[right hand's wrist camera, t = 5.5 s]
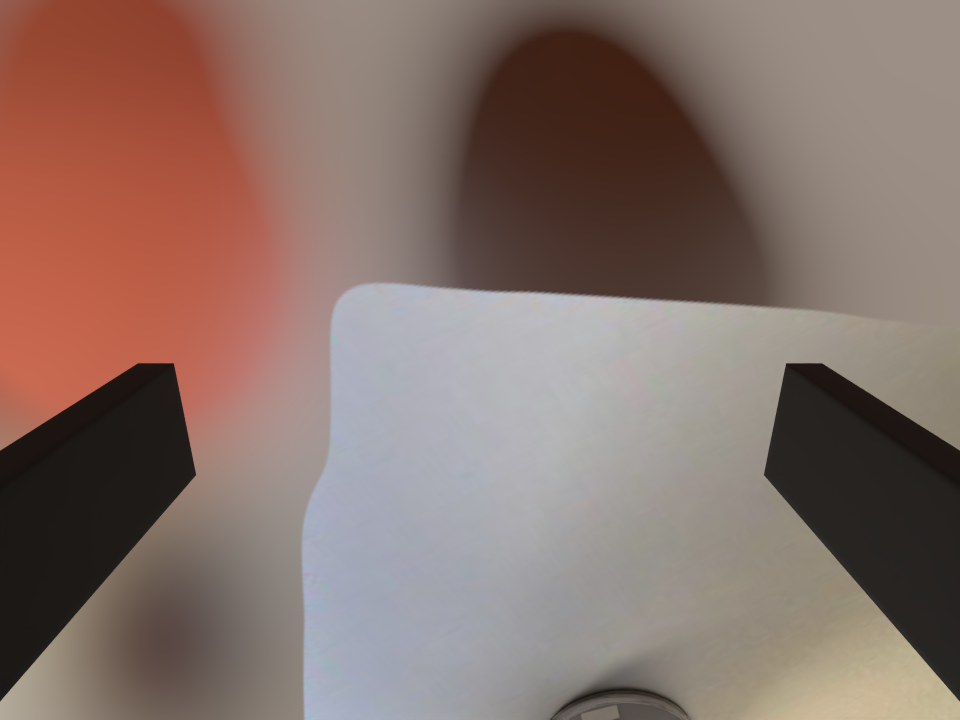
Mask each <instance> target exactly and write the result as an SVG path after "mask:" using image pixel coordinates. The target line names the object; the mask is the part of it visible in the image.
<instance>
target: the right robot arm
mask: <svg viewBox="0 0 960 720" xmlns="http://www.w3.org/2000/svg"><path fill="white" fill-rule="evenodd" d="M195 476H196V472H195V467H194V462H193V457H192V452H191V447H190V442H189V437H188V432H187V427H186V422H185V417H184V412H183V407H182V402H181V397H180V392H179V387H178V382H177V377H176V372H175V367H174V364H173V363H138V364H136V365H135V366H133V367H132V368H130V369H128V370H127V371H125V372H124V373H122V374H121V375H119V376H118V377H116V378H114V379H113V380H111V381H110V382H108V383H106V384H105V385H103V386H102V387H100V388H99V389H97V390H95V391H94V392H92V393H91V394H89V395H87V396H86V397H84V398H83V399H81V400H80V401H78V402H76V403H75V404H73V405H72V406H70V407H69V408H67V409H65V410H64V411H62V412H61V413H59V414H58V415H56V416H54V417H53V418H51V419H50V420H48V421H46V422H45V423H43V424H42V425H40V426H38V427H37V428H35V429H34V430H32V431H31V432H29V433H27V434H26V435H24V436H23V437H21V438H20V439H18V440H16V441H15V442H13V443H12V444H10V445H9V446H7V447H5V448H4V449H2V450H1V451H0V701H1V700H2V699H3V697H4V696H5V695H6V694H7V693H8V692H9V691H10V689H11V688H12V687H13V686H14V685H15V684H16V682H17V681H18V680H19V679H20V678H21V677H22V676H23V674H24V673H25V672H26V671H27V670H28V669H29V667H30V666H31V665H32V664H33V663H34V662H35V661H36V659H37V658H38V657H39V656H40V655H41V654H42V652H43V651H44V650H45V649H46V648H47V647H48V645H49V644H50V643H51V642H52V641H53V640H54V638H55V637H56V636H57V635H58V634H59V633H60V632H61V630H62V629H63V628H64V627H65V626H66V625H67V624H68V622H69V621H70V620H71V619H72V618H73V617H74V615H75V614H76V613H77V612H78V611H79V610H80V609H81V607H82V606H83V605H84V604H85V603H86V602H87V600H88V599H89V598H90V597H91V596H92V595H93V593H94V592H95V591H96V590H97V589H98V588H99V586H100V585H101V584H102V583H103V582H104V581H105V580H106V578H107V577H108V576H109V575H110V574H111V573H112V572H113V570H114V569H115V568H116V567H117V566H118V565H119V563H120V562H121V561H122V560H123V559H124V558H125V556H126V555H127V554H128V553H129V552H130V551H131V550H132V548H133V547H134V546H135V545H136V544H137V543H138V541H139V540H140V539H141V538H142V537H143V536H144V535H145V533H146V532H147V531H148V530H149V529H150V528H151V526H152V525H153V524H154V523H155V522H156V521H157V520H158V518H159V517H160V516H161V515H162V514H163V513H164V511H165V510H166V509H167V508H168V507H169V506H170V504H171V503H172V502H173V501H174V500H175V499H176V498H177V496H178V495H179V494H180V493H181V492H182V491H183V489H184V488H185V487H186V486H187V485H188V484H189V483H190V481H191V480H192V479H193V478H194V477H195ZM764 476H765V477H766V478H767V479H768V480H769V481H770V483H771V484H772V485H773V486H774V487H775V488H776V489H777V491H778V492H779V493H780V494H781V495H782V496H783V498H784V499H785V500H786V501H787V502H788V503H789V505H790V506H791V507H792V508H793V509H794V510H795V511H796V513H797V514H798V515H799V516H800V517H801V518H802V520H803V521H804V522H805V523H806V524H807V525H808V526H809V528H810V529H811V530H812V531H813V532H814V533H815V535H816V536H817V537H818V538H819V539H820V540H821V541H822V543H823V544H824V545H825V546H826V547H827V548H828V550H829V551H830V552H831V553H832V554H833V555H834V557H835V558H836V559H837V560H838V561H839V562H840V563H841V565H842V566H843V567H844V568H845V569H846V570H847V572H848V573H849V574H850V575H851V576H852V577H853V578H854V580H855V581H856V582H857V583H858V584H859V585H860V587H861V588H862V589H863V590H864V591H865V592H866V593H867V595H868V596H869V597H870V598H871V599H872V600H873V602H874V603H875V604H876V605H877V606H878V607H879V609H880V610H881V611H882V612H883V613H884V614H885V615H886V617H887V618H888V619H889V620H890V621H891V622H892V624H893V625H894V626H895V627H896V628H897V629H898V630H899V632H900V633H901V634H902V635H903V636H904V637H905V639H906V640H907V641H908V642H909V643H910V644H911V645H912V647H913V648H914V649H915V650H916V651H917V652H918V654H919V655H920V656H921V657H922V658H923V659H924V661H925V662H926V663H927V664H928V665H929V666H930V667H931V669H932V670H933V671H934V672H935V673H936V674H937V676H938V677H939V678H940V679H941V680H942V681H943V682H944V684H945V685H946V686H947V687H948V688H949V689H950V691H951V692H952V693H953V694H954V695H955V696H956V697H957V699H958V700H959V701H960V451H959V450H958V449H956V448H955V447H953V446H951V445H950V444H948V443H947V442H945V441H944V440H942V439H940V438H939V437H937V436H936V435H934V434H933V433H931V432H929V431H928V430H926V429H925V428H923V427H922V426H920V425H918V424H917V423H915V422H914V421H912V420H910V419H909V418H907V417H906V416H904V415H903V414H901V413H899V412H898V411H896V410H895V409H893V408H892V407H890V406H888V405H887V404H885V403H884V402H882V401H880V400H879V399H877V398H876V397H874V396H873V395H871V394H869V393H868V392H866V391H865V390H863V389H862V388H860V387H858V386H857V385H855V384H854V383H852V382H850V381H849V380H847V379H846V378H844V377H843V376H841V375H839V374H838V373H836V372H835V371H833V370H832V369H830V368H828V367H827V366H825V365H824V364H822V363H786V367H785V372H784V377H783V382H782V387H781V392H780V397H779V402H778V407H777V412H776V417H775V422H774V427H773V432H772V437H771V442H770V447H769V452H768V457H767V462H766V467H765V472H764ZM551 720H690V719H689V718H688V716H687V715H686V714H685V713H684V712H683V711H682V710H681V709H680V708H679V707H677V706H676V705H675V704H673V703H672V702H670V701H668V700H666V699H664V698H662V697H659V696H656V695H653V694H650V693H645V692H640V691H629V690H619V691H608V692H602V693H597V694H594V695H590V696H587V697H584V698H582V699H580V700H577V701H575V702H573V703H571V704H570V705H568V706H567V707H565V708H564V709H562V710H561V711H560V712H558V713H557V714H556V715H555V716H554V717H553V718H552V719H551Z"/></svg>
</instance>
